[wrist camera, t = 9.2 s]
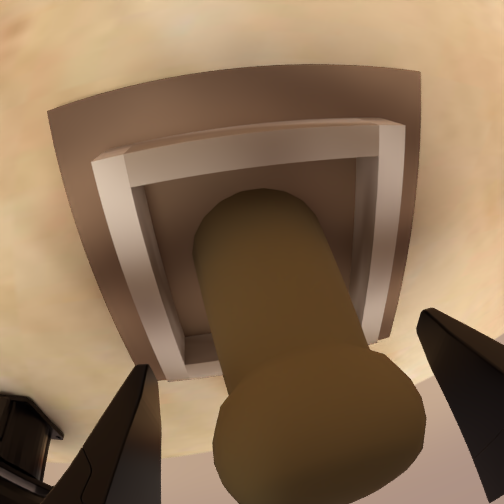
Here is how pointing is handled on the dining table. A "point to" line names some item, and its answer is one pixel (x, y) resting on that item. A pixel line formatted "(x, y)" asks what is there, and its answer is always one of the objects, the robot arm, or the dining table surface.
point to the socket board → (237, 187)
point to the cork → (296, 362)
